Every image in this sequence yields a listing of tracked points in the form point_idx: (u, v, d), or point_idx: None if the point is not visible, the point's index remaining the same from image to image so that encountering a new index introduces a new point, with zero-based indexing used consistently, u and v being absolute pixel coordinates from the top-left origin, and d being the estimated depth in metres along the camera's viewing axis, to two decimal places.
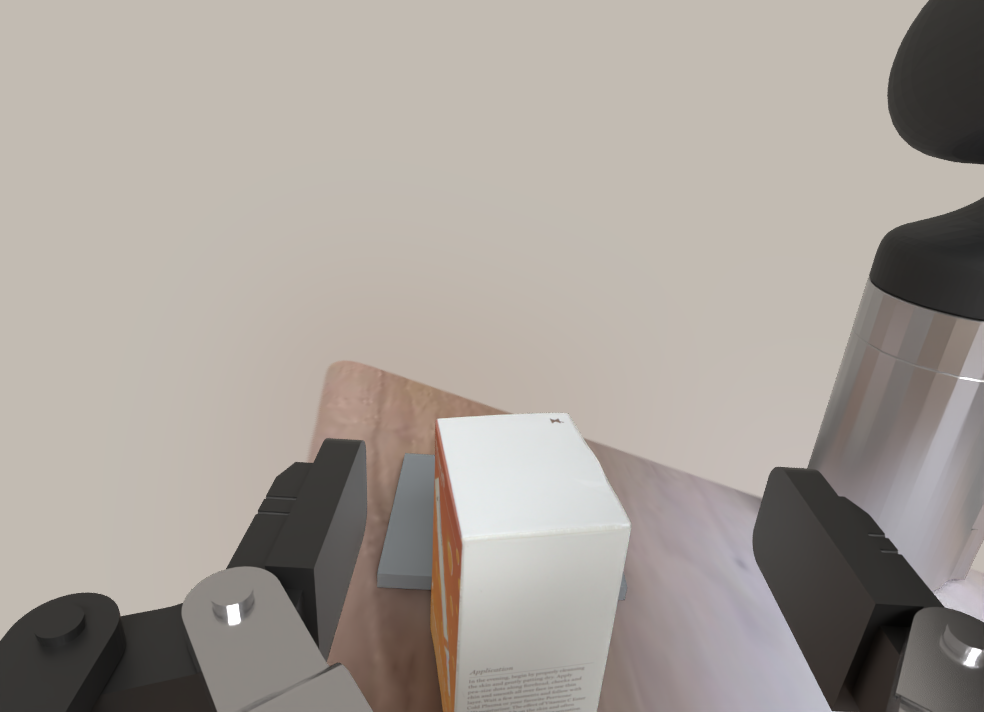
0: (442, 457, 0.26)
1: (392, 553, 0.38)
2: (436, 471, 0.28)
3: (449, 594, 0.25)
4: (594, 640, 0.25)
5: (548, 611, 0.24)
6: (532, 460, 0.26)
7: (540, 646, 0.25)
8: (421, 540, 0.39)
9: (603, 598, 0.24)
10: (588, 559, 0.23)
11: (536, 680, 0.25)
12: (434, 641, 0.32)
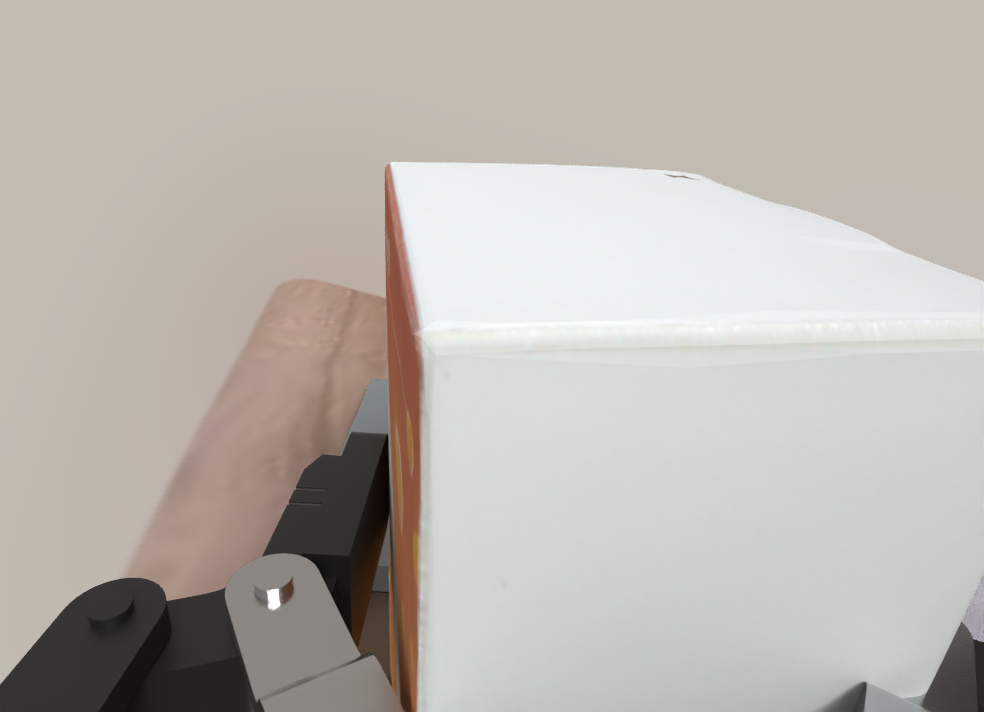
0: (389, 203, 0.09)
1: None
2: None
3: (400, 597, 0.08)
4: None
5: (739, 660, 0.07)
6: (650, 205, 0.09)
7: None
8: None
9: (924, 616, 0.07)
10: (922, 464, 0.06)
11: None
12: None
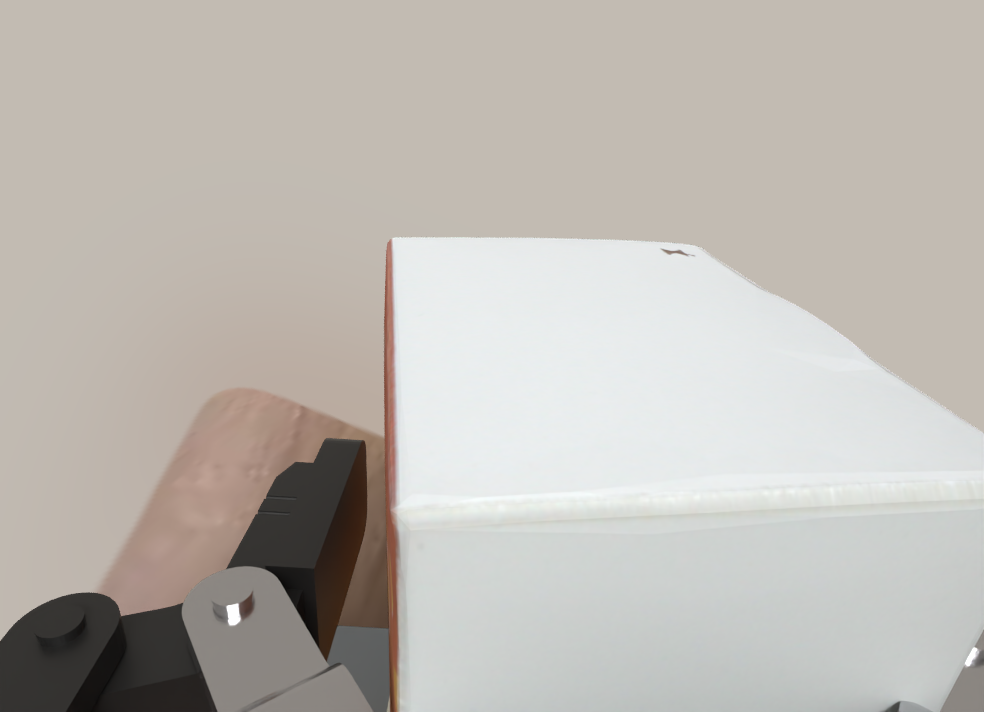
0: (386, 299, 0.09)
1: None
2: None
3: (390, 685, 0.09)
4: None
5: None
6: (638, 306, 0.09)
7: None
8: None
9: None
10: (881, 607, 0.06)
11: None
12: None
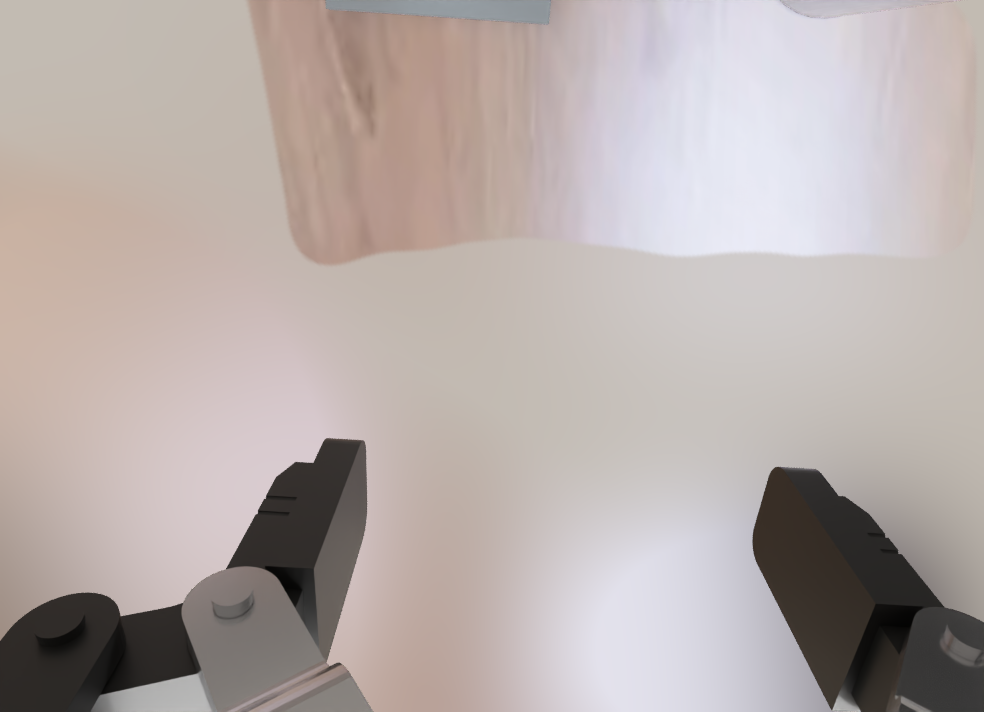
0: None
1: None
2: None
3: None
4: None
5: None
6: None
7: None
8: None
9: None
10: None
11: None
12: None
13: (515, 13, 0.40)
